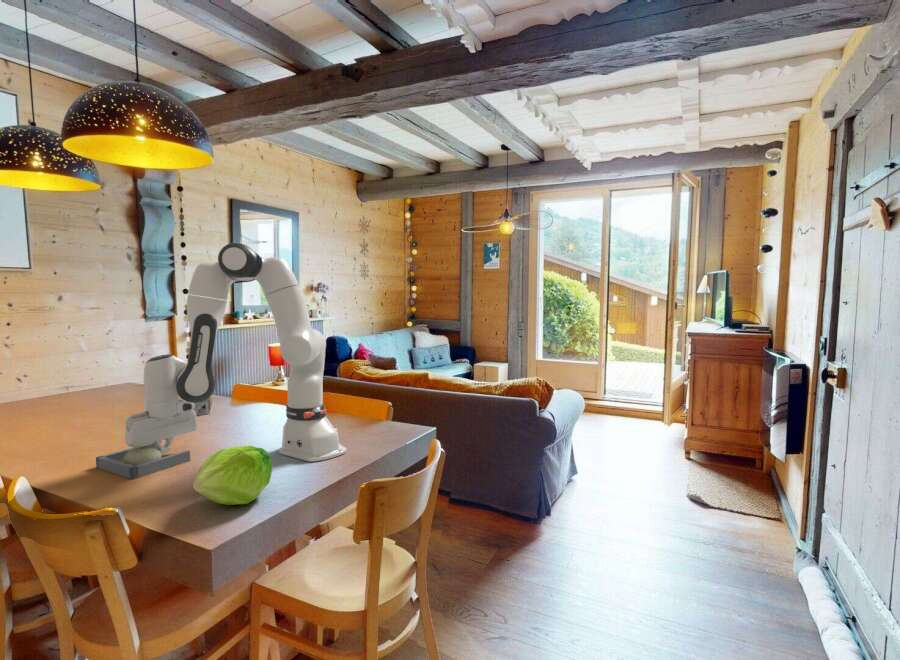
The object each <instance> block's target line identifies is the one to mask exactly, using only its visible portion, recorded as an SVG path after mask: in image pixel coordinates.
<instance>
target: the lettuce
mask: <svg viewBox="0 0 900 660" xmlns="http://www.w3.org/2000/svg"><path fill="white" fill-rule="evenodd" d="M272 461H273V460H272V457H271V455H270V454H269V452H268V451H267V450H266V449H264V448H263V447H257V446H253V445H240V446H232V447H228V448H224V449H221V450H217V451H216V452H214V453H213V454H212V455H210V456H209V457H208V458H207V459H205V460H204V462H203V464H202V466H201V467H200V468H199V470H198V474H197V476H196V477H195V478H194V481H193V484H192V485H193V489H194V490H195V491H196V492H197V493H198V494H200V495H202V496H204V497H206V498H207V499H208V500H210V501H212V502H213V503H214V504H219V505H226V506H236V505H237V506H238V505H239V506H240V505H248V504H249V503H251V502H252V501H254V500H255V499H257V498H258V497H259V496H260V494H261V493H262V492H263V490H264V489H265V488H266V487H267V486H268V484H270V481H271V477H272V472H273V463H272Z"/></svg>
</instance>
